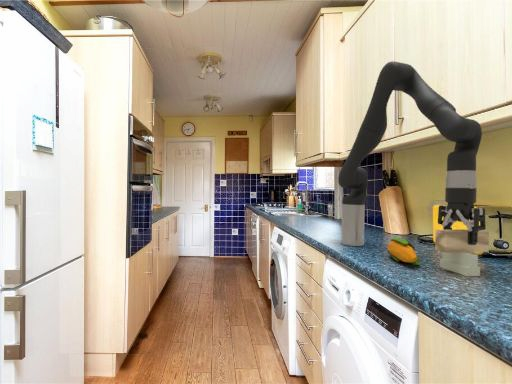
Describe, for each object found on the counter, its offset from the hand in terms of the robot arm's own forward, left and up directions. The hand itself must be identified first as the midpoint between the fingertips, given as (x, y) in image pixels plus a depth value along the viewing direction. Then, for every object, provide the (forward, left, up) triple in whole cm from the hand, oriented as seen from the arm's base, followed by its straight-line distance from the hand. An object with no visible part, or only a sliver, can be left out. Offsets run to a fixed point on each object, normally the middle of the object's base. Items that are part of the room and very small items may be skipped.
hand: (459, 242), depth 87 cm
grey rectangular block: (0, 0, -9) cm, 9 cm away
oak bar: (0, +1, -3) cm, 3 cm away
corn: (-12, -9, -9) cm, 17 cm away
